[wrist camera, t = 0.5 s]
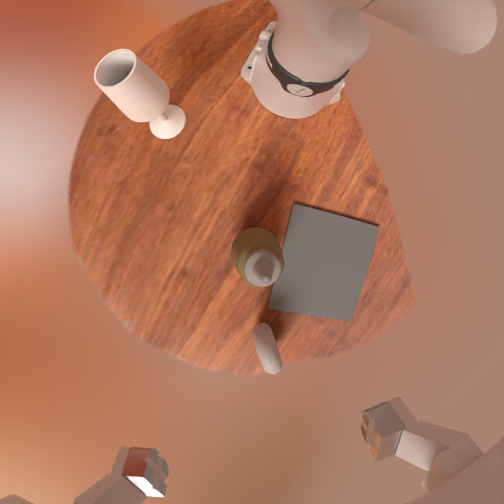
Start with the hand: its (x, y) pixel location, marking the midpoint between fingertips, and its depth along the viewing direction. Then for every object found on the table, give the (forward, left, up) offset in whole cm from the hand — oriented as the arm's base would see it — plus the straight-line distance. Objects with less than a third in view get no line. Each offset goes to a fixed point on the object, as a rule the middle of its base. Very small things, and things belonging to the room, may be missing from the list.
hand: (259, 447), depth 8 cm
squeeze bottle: (0, +3, -41) cm, 41 cm away
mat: (+1, +17, -41) cm, 44 cm away
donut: (+17, +9, -41) cm, 46 cm away
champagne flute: (-19, -17, -41) cm, 48 cm away
